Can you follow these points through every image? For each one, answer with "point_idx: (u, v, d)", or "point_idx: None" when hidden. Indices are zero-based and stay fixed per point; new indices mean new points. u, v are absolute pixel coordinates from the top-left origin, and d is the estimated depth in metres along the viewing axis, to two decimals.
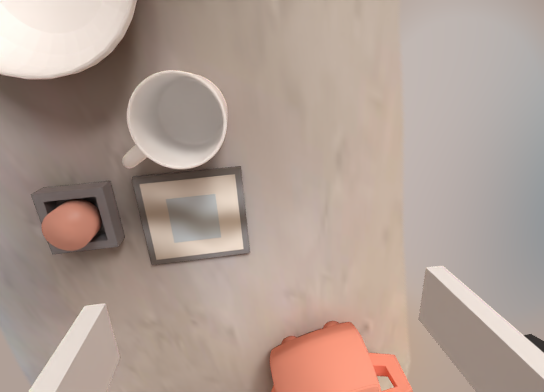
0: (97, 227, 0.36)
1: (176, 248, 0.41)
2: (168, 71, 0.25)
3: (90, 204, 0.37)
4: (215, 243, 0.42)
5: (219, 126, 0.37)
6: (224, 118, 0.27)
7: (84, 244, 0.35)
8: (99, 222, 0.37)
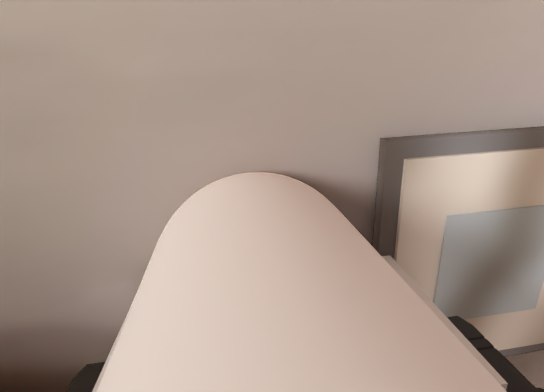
0: None
1: None
2: None
3: None
4: None
5: None
6: None
7: None
8: None
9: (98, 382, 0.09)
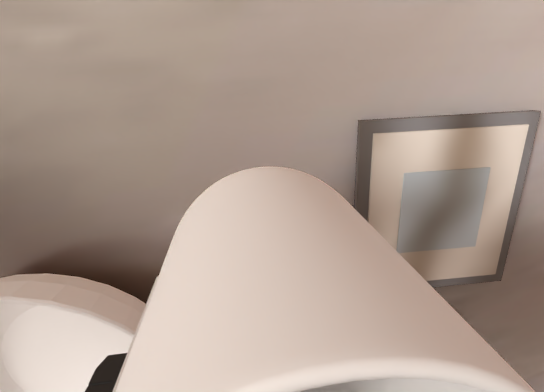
0: None
1: (485, 243, 0.23)
2: None
3: None
4: (498, 178, 0.22)
5: None
6: (360, 377, 0.04)
7: None
8: None
9: (122, 371, 0.09)
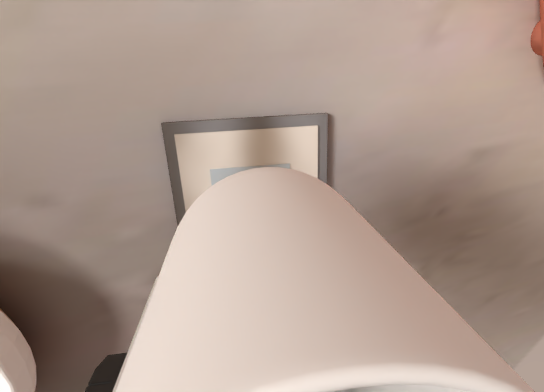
0: None
1: None
2: None
3: None
4: None
5: None
6: (362, 383, 0.04)
7: None
8: None
9: (122, 371, 0.09)
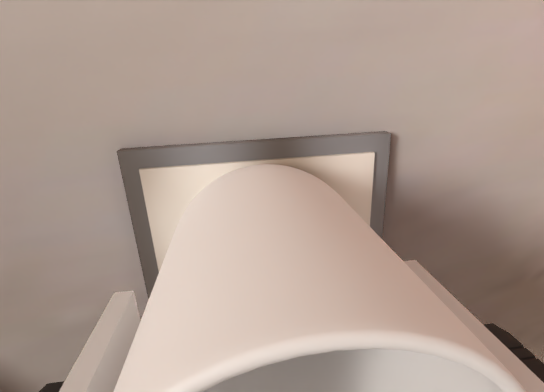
0: None
1: None
2: None
3: None
4: None
5: None
6: (344, 346, 0.04)
7: None
8: None
9: None
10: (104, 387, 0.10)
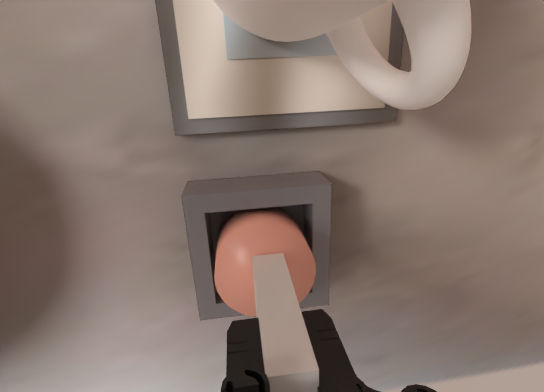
0: (274, 216, 0.16)
1: None
2: None
3: (227, 221, 0.17)
4: None
5: None
6: None
7: (304, 247, 0.15)
8: (265, 210, 0.17)
9: (262, 330, 0.10)
10: None
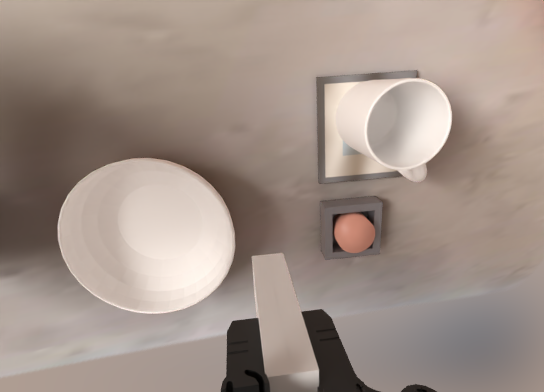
0: (358, 213, 0.42)
1: None
2: (365, 127, 0.29)
3: (336, 215, 0.43)
4: None
5: None
6: (415, 80, 0.28)
7: (371, 225, 0.40)
8: None
9: (262, 330, 0.10)
10: None
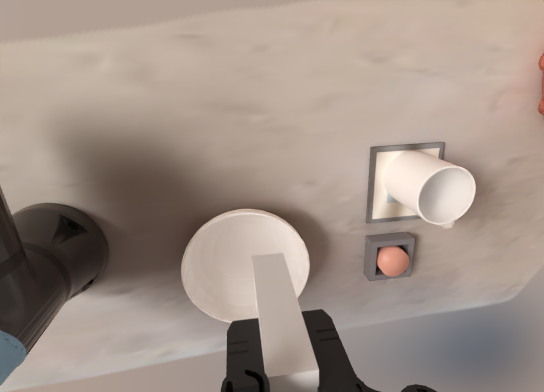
0: (395, 246, 0.54)
1: None
2: (417, 197, 0.41)
3: (378, 247, 0.55)
4: None
5: None
6: (452, 167, 0.40)
7: (406, 255, 0.53)
8: None
9: (262, 330, 0.10)
10: None
